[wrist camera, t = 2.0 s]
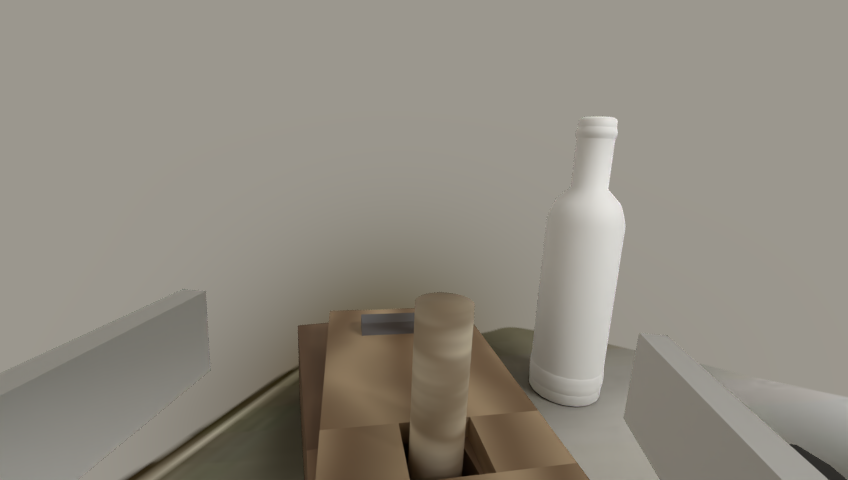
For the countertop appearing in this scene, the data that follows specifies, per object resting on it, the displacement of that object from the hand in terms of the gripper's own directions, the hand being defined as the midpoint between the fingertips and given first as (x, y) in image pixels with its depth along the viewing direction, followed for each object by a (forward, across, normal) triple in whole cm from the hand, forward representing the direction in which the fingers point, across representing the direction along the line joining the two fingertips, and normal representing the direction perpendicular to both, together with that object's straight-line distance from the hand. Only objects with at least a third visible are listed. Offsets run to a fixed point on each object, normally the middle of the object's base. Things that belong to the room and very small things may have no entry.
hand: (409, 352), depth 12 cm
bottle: (+32, +14, -20) cm, 41 cm away
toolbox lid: (+17, -1, -12) cm, 21 cm away
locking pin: (+9, +1, -16) cm, 18 cm away
